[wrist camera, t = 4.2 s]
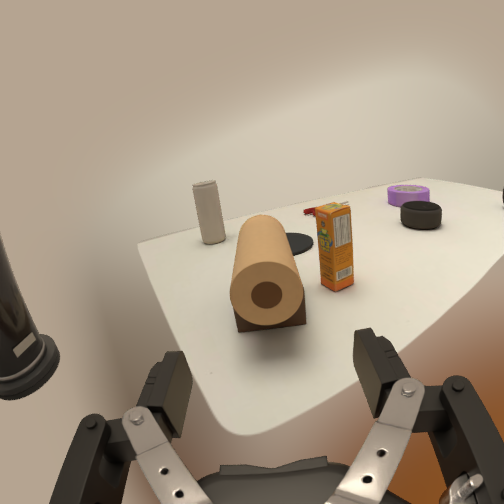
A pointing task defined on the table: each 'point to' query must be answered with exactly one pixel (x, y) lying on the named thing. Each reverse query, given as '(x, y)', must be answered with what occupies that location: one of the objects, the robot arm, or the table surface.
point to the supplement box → (335, 245)
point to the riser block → (294, 320)
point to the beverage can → (209, 212)
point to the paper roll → (265, 273)
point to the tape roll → (407, 194)
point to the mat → (299, 242)
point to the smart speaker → (421, 214)
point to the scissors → (312, 210)
